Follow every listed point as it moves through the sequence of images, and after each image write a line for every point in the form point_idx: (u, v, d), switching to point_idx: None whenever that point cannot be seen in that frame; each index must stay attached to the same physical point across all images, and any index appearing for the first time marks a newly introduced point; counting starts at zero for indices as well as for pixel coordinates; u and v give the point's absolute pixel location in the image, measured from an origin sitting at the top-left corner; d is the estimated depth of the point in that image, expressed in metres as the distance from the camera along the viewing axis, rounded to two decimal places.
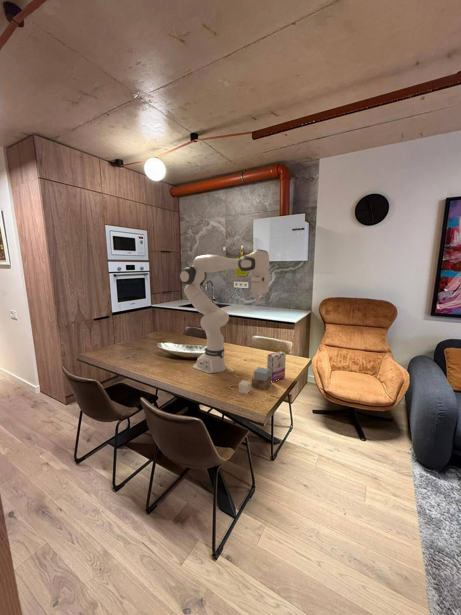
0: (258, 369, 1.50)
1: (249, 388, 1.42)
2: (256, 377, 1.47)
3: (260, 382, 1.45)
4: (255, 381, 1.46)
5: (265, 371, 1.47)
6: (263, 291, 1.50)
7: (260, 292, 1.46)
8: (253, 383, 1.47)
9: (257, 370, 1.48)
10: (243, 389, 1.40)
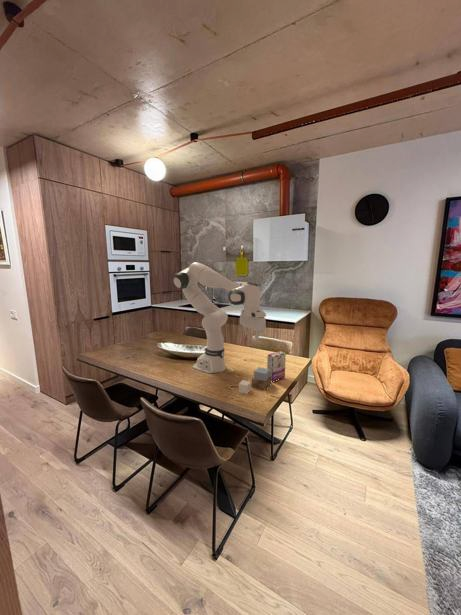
0: (259, 369, 1.50)
1: (249, 388, 1.42)
2: (256, 377, 1.47)
3: (260, 382, 1.45)
4: (255, 381, 1.46)
5: (265, 371, 1.47)
6: None
7: None
8: (253, 383, 1.47)
9: (257, 370, 1.48)
10: (243, 389, 1.40)
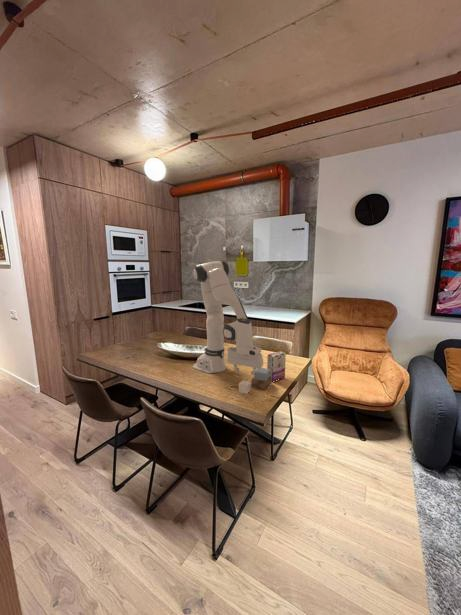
0: (259, 369, 1.50)
1: (249, 388, 1.42)
2: (256, 377, 1.47)
3: (260, 382, 1.45)
4: (255, 381, 1.46)
5: (265, 371, 1.47)
6: None
7: None
8: (253, 383, 1.47)
9: (257, 370, 1.48)
10: (243, 389, 1.40)
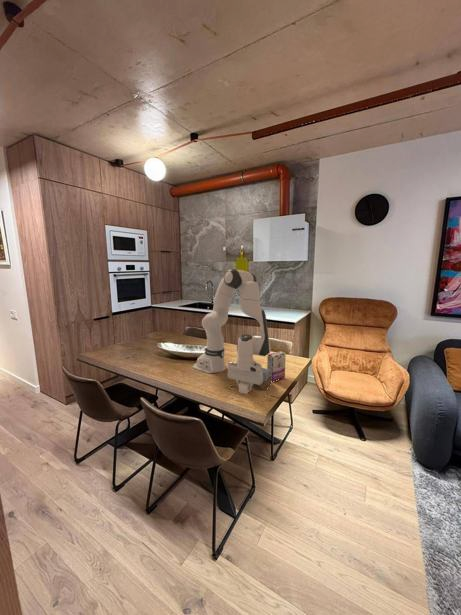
0: None
1: None
2: None
3: None
4: None
5: (265, 371, 1.47)
6: None
7: None
8: None
9: None
10: (243, 389, 1.40)
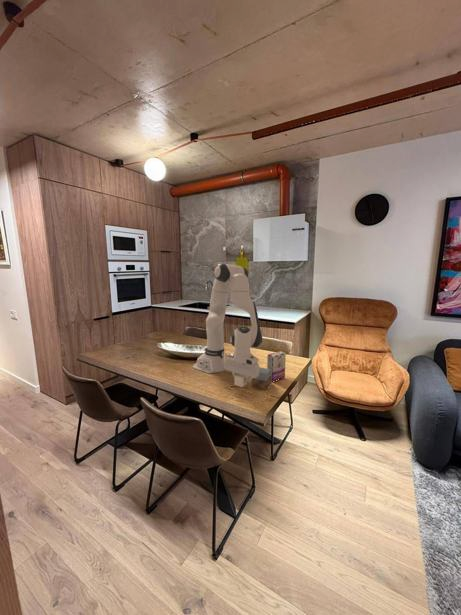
0: (259, 369, 1.50)
1: None
2: (257, 377, 1.47)
3: (260, 382, 1.45)
4: (255, 381, 1.46)
5: (266, 371, 1.47)
6: None
7: None
8: (253, 383, 1.47)
9: None
10: (239, 382, 1.39)
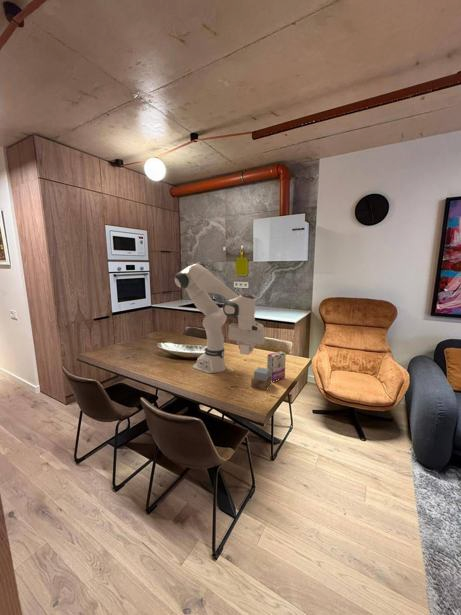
0: (258, 369, 1.50)
1: None
2: (256, 377, 1.47)
3: (260, 382, 1.45)
4: (255, 381, 1.46)
5: (265, 371, 1.47)
6: None
7: None
8: (253, 383, 1.47)
9: (257, 370, 1.48)
10: (244, 350, 1.37)
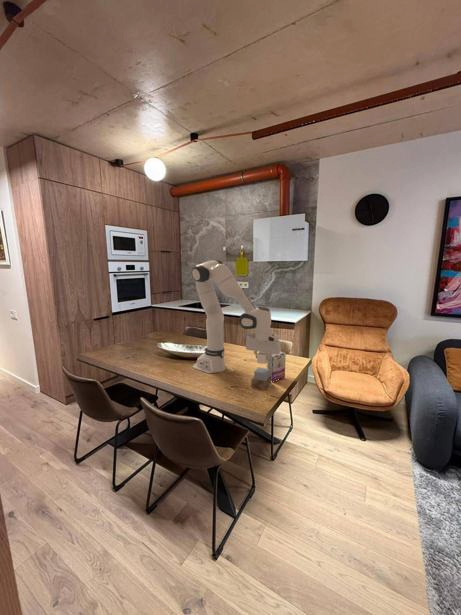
0: (258, 369, 1.50)
1: None
2: (256, 377, 1.47)
3: (260, 382, 1.45)
4: (255, 381, 1.46)
5: (265, 371, 1.47)
6: None
7: None
8: (253, 383, 1.47)
9: (257, 370, 1.48)
10: (261, 359, 1.45)
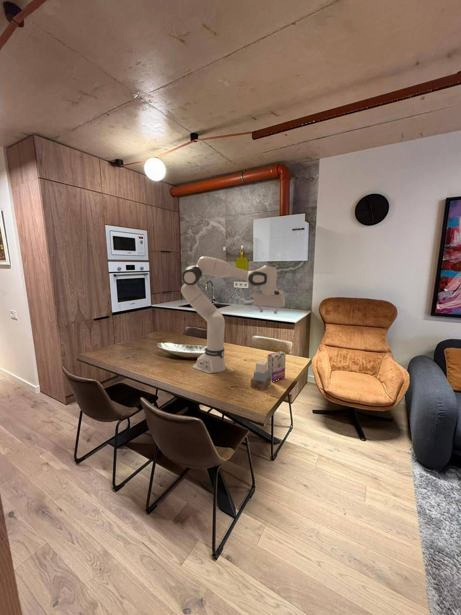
0: None
1: (266, 368, 1.47)
2: (256, 378, 1.46)
3: (259, 382, 1.45)
4: (254, 381, 1.46)
5: (265, 372, 1.46)
6: None
7: None
8: (252, 383, 1.47)
9: None
10: (260, 369, 1.45)
